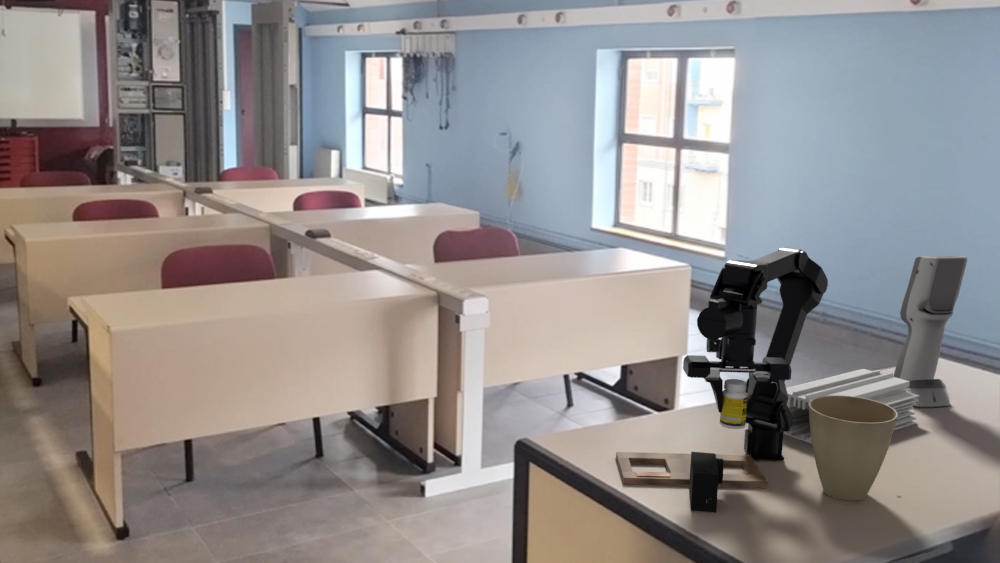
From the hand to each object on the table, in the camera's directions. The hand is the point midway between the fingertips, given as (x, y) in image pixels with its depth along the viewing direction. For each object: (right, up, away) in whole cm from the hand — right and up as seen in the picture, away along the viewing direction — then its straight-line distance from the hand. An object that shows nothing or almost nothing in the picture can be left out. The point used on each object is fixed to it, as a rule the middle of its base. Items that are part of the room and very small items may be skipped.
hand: (733, 412), depth 186 cm
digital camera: (-7, -14, -10) cm, 19 cm away
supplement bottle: (0, -3, +1) cm, 3 cm away
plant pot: (+19, -14, -5) cm, 24 cm away
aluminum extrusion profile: (+31, -8, +30) cm, 44 cm away
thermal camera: (+55, -4, +51) cm, 75 cm away
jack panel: (-8, -12, +2) cm, 14 cm away
